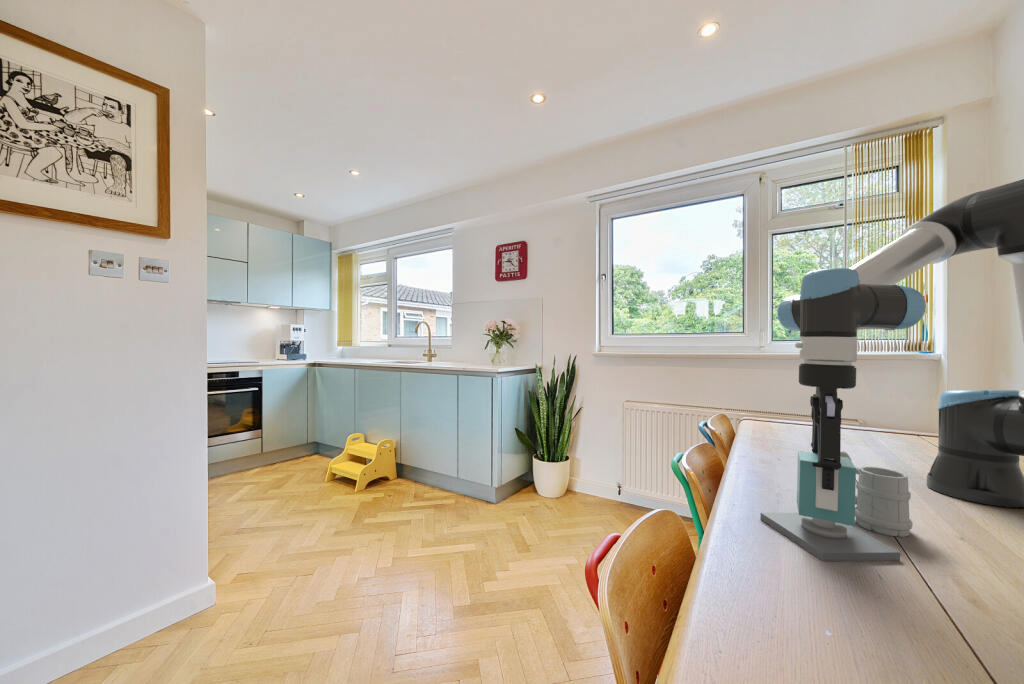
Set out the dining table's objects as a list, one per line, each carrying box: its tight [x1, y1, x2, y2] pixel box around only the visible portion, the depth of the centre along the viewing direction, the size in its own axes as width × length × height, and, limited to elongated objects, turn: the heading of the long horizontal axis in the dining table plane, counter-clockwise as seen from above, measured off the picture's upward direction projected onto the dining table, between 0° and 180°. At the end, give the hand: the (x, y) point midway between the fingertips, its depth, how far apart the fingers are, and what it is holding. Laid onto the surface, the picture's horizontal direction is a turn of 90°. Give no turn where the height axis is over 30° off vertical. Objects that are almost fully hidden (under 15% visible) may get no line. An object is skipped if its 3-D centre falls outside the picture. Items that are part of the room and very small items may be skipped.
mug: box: [840, 450, 913, 538], centre depth 73 cm, size 8×12×12 cm, turn 28°
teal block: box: [796, 450, 857, 527], centre depth 67 cm, size 7×7×9 cm
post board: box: [760, 512, 901, 562], centre depth 67 cm, size 12×14×8 cm
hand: (823, 500), depth 67 cm, fingers closed on teal block, 7 cm apart
